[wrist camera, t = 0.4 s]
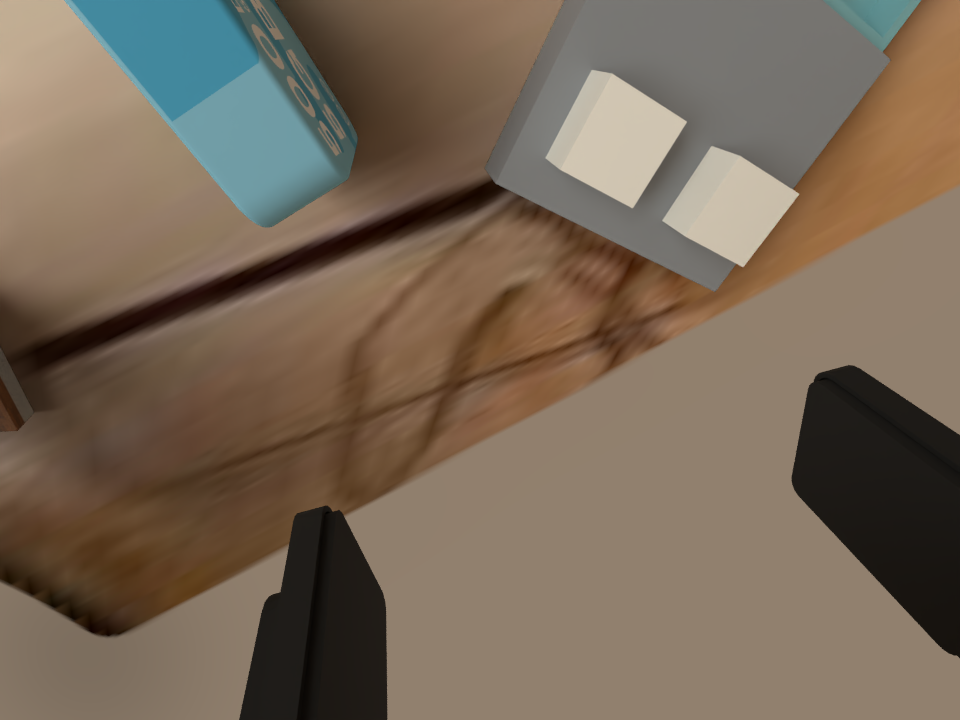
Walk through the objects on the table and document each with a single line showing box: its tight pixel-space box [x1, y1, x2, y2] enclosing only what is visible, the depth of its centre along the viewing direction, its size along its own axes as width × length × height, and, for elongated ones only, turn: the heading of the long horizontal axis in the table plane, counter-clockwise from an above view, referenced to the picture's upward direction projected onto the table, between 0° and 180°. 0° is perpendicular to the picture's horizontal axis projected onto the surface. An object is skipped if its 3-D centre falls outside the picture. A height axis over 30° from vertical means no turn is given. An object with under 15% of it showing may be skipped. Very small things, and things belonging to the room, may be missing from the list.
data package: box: [64, 0, 358, 227], centre depth 24 cm, size 12×4×12 cm, turn 28°
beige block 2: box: [662, 146, 799, 267], centre depth 32 cm, size 5×5×3 cm
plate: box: [485, 0, 891, 292], centre depth 32 cm, size 16×18×4 cm
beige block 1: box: [546, 70, 687, 208], centre depth 28 cm, size 5×5×3 cm
